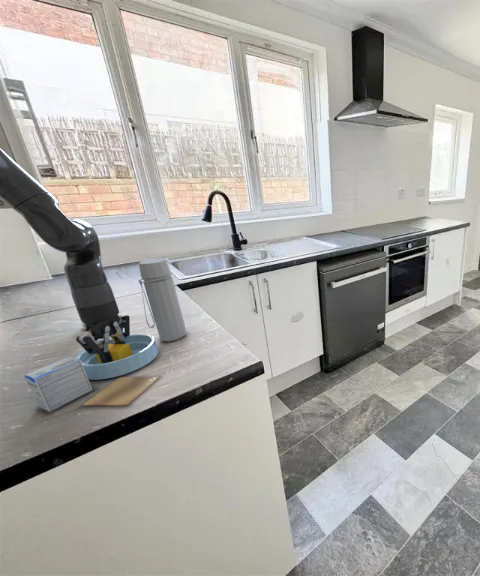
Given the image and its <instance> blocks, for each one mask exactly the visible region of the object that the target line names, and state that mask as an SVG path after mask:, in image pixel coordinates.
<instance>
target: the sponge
mask: <svg viewBox="0 0 480 576" xmlns="http://www.w3.org/2000/svg"><path fill="white" fill-rule="evenodd" d="M108 348H109V350H108V351H110V354H111V356H112V359H113V361H117V360H120V359H123V358H126V357H129V356H131V355H132V352H131V349H130V346H129V344H108ZM96 357H97V359H98V362H99V363H102V362H101V359H100V357H99V354H96Z"/></svg>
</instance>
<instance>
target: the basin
mask: <svg viewBox="0 0 480 576" xmlns="http://www.w3.org/2000/svg"><path fill="white" fill-rule="evenodd" d="M114 343H115V342H114V341H113V340H112V338H110V342H109V343H108V344H114ZM125 344H129V346H130V349H131V352H132V355H131V356H129V357H126V358H123V359H120V360H117V361H113V362H109V363H99V362H98V359H97V357H96V354H89V353H88V352H87V351H86V350H85V349H83V350H82V351H81V353H79V354H78V355H77V356H76V358H75V359H78V360H81V362H82V365H83V367H84V370H85V372H86V375H87V378H88V380H89V381H91V380H93V381H95V380H96V381H97V380H106V379H111V378H116V377H121V376H124V375H126V374H129V373H132V372H134V371H136V370H139V369H141V368H144V366H147V365H148V364H149V363H151V362H152V361H153V360H155V358H156V357H157V356H158V354H159V349H158V345H157V342H156V339H155V337H154V336H153V335H151V334H147V333H134V334H133V333H132V334H130V335H129V336H128V337H126V338H125ZM101 348H102V344H101Z"/></svg>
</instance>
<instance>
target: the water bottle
mask: <svg viewBox="0 0 480 576" xmlns="http://www.w3.org/2000/svg"><path fill="white" fill-rule="evenodd" d="M138 267H139V272H140V273H139V274H140V277H141V279H138V280H137V281H138V283H139V285H140V287H141V289H142V291H141V294H142V296H144V297H145V299H144V298H142V302H143V303H145V300H146V304H147V307H148V310H149V312H150V317H151V319H152V321H153V325H150V324H149V321H148V318H147V313H146V311H144V315H145V322H146V325H147V326H148V328H149V329H153V328H154V327H155V326H156V329H157V333H158V336H159V339H160V340H161V341H163V342H175V341H178V340H180V339H182V338H183V337H185V336H186V334H187V328H186V324H185V320H184V317H183V312H182V309H181V305H180V302H179V297H178V294H177V290H176V286H175V283H174V278H173V273H172V271H171V269H170V266H169V263H168V261H167V259H166V258H164V257H163V258H162V257H159V258H158V257H157V258H149V259H145V260H141V261H139V262H138ZM143 286H144V287H143ZM143 308H144V310H146V306H145V304H143Z"/></svg>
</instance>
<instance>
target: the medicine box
mask: <svg viewBox="0 0 480 576" xmlns="http://www.w3.org/2000/svg"><path fill="white" fill-rule="evenodd" d="M24 379H25V381H26V382H27V385H28V387H29V388H30V390H31V393H32V395H33V398H34V399H35V401H36V404H37V405H38V407H39V408H41V409H42V410H45V411H46V412H48V413H51V412H54V411H55V410H57V409H59V408H61V407H63V406H65V405H67V404H69V403H71V402H73V401H74V400H76V399H78V398H80V397H83V396H84V395H86V394H88V393H90V392H92V391H93V387H92V386H91V382H90V379H88V378H87V375H86V372H85V370H84V367H83V365H82V362H81V360H78V359H76V358H75V357H71V356H67V357H65V358H62V359H60V360H58V361H55V362H52V363H50V364H47V365H45V366H43V367H41V368H38V369H36V370H34V371H31V372H29V373H26V374H24Z"/></svg>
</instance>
